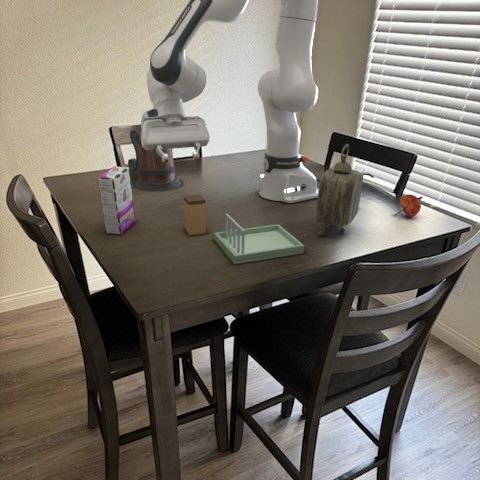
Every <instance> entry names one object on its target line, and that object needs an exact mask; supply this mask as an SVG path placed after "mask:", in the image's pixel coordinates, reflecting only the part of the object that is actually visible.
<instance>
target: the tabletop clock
mask: <svg viewBox="0 0 480 480" xmlns="http://www.w3.org/2000/svg"><path fill="white" fill-rule="evenodd" d="M346 149H347V150H346ZM345 150H346V153H345V154H344V152H345ZM349 152H350V144H348V143H346V144H344V145H343V147H342V149H341V153H340V161H337V162H336V163H335V164H334V165H333V166H331V167H330V168H328V169H327V170H325V172H323V174H322V176H321V178H320V180H321V181H320V182H319V187H318V188H319V192H318V198H317V200H316V209H315V210H316V211H315V222H316V223H319V224H324V226H323V229H322V230H320V231H319V232H318V236H319V237H324V236H325V231H326V230H327V228H328V227H329V226H335V227H340V229H339V233H340V234H344V233H345V232H346V230H345V228H344V227H345V226H348V225H350V224H351V223H352V222H353V221H354V219H355V218H356V217H357V214H358V212H359V207H360V201H361V195H362V189H363V184H364V183H363V182H364V175H362V174H361V173H360V172H359V171H357V170H358V169H357V170H352V169H353V168H352V164H351V163H350V162H348V161H347V158H348V156H349Z"/></svg>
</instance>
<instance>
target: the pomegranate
mask: <svg viewBox="0 0 480 480" xmlns="http://www.w3.org/2000/svg"><path fill="white" fill-rule="evenodd" d="M421 199H422V200H423V199H424V197H423V196H419V197H417V196H416V195H415V194H410V193H409V194H405V195H403V196H402V197H401V198H400V199H399V201H398V204H399V206H400V207H401V208H402V209H400V211H398V212H397V213H395V214H394V215H393V216H394V217H395V216H397V215H398V214H401V213H402V212H403V214H404V215H406V216H407V217H408V218H413V217H415V216H417V215H418V214H419V213H420V211H421V208H422V203H421Z"/></svg>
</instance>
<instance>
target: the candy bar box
mask: <svg viewBox="0 0 480 480" xmlns="http://www.w3.org/2000/svg"><path fill="white" fill-rule="evenodd" d="M97 183H98V190H99V196H100V202H101V208H102V209H101V210H102V214H103V216H102V217H103V221H104V227H105V233H106V234H108V235H123V234H124V233H125V232H126V231H127V230H128V229H129V228H130V227H131V226H132V225H133V224H134V223H135V222H136V215H135V207H134V198H133V191H132V182H131V173H130V168H129V166H117V165H116V166H112V167H111V168H109V169H108V170H106V171H105V172H104V173H102V174H100V175H99V176H97Z"/></svg>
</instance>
